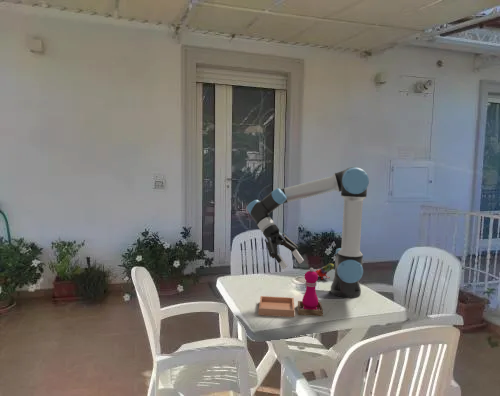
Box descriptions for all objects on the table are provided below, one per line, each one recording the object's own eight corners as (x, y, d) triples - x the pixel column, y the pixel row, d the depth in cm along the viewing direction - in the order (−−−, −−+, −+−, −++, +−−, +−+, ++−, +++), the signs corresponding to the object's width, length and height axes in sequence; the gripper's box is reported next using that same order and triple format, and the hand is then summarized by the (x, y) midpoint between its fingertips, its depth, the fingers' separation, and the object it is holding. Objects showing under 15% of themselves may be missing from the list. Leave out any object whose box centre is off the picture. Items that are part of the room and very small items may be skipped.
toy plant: (326, 286, 228) (338, 274, 221) (311, 279, 226) (323, 267, 219) (325, 275, 234) (337, 263, 228) (311, 269, 232) (322, 257, 226)
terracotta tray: (293, 303, 186) (293, 297, 186) (294, 317, 171) (294, 310, 171) (260, 302, 188) (260, 296, 187) (258, 315, 172) (258, 308, 172)
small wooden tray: (320, 307, 183) (320, 302, 183) (322, 316, 172) (323, 310, 172) (297, 306, 184) (297, 300, 183) (298, 315, 173) (298, 309, 173)
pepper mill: (307, 306, 183) (308, 264, 181) (321, 310, 178) (322, 267, 176) (298, 311, 178) (300, 267, 176) (312, 315, 173) (314, 271, 171)
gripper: (256, 226, 179) (283, 265, 171) (288, 220, 198) (313, 255, 190) (247, 236, 183) (272, 274, 175) (279, 229, 202) (303, 264, 194)
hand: (293, 264), depth 182 cm, fingers open, 13 cm apart
